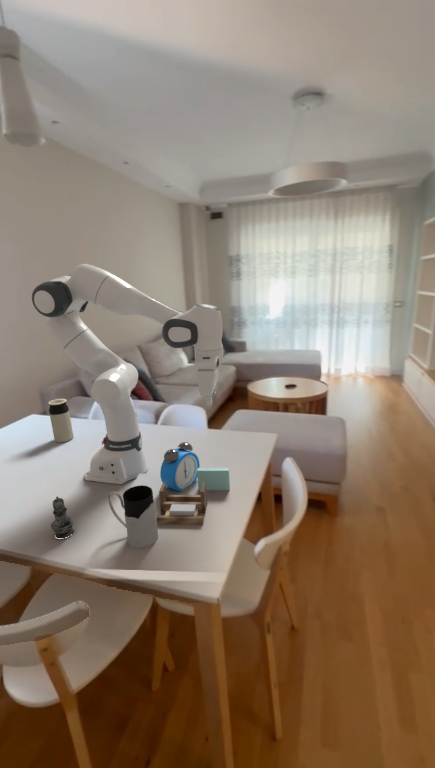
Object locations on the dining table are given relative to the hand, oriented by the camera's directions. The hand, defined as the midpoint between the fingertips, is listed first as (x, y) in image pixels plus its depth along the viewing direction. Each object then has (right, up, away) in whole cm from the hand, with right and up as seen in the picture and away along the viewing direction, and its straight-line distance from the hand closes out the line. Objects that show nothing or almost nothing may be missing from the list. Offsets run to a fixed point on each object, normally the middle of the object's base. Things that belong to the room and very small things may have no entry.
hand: (210, 399), depth 121 cm
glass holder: (-20, -37, -19) cm, 46 cm away
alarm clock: (-10, -30, +5) cm, 32 cm away
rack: (-8, -34, -11) cm, 36 cm away
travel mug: (-67, -20, +49) cm, 85 cm away
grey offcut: (-8, -31, -13) cm, 35 cm away
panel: (+1, -30, +1) cm, 30 cm away
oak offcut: (-8, -33, -13) cm, 36 cm away
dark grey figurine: (-41, -37, -15) cm, 57 cm away
